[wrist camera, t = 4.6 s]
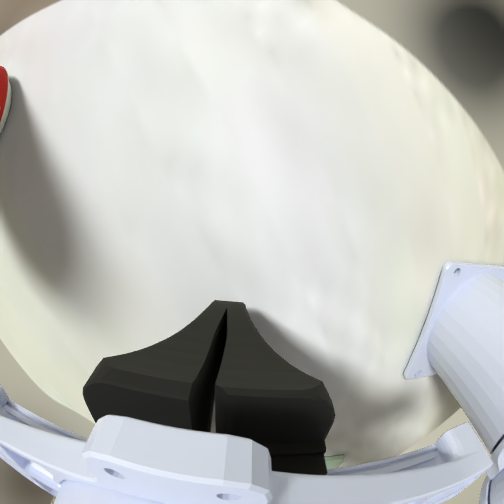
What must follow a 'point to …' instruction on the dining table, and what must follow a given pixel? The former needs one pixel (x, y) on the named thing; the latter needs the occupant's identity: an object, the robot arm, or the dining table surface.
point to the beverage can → (4, 96)
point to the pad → (333, 461)
